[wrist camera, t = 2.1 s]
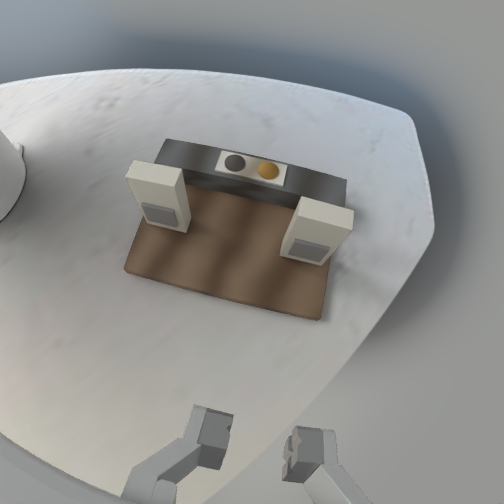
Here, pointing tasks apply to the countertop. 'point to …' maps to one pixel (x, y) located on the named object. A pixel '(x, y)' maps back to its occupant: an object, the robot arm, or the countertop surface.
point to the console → (237, 230)
